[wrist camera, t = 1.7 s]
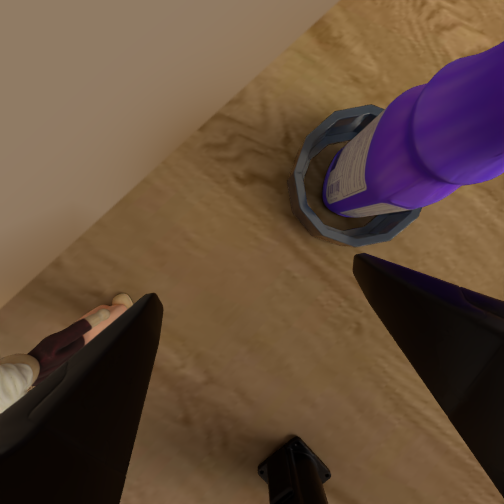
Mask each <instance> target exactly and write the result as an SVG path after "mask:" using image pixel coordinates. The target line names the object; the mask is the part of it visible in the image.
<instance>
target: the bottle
mask: <svg viewBox="0 0 504 504" xmlns="http://www.w3.org/2000/svg"><path fill="white" fill-rule="evenodd" d="M503 172H504V41H503V42H502V43H500V44H499V45H497V46H495V47H493V48H491V49H489V50H487V51H485V52H482V53H479V54H477V55H472V56H468V57H464V58H459V59H457V60H455V61H453V62H451V63H449V64H447V65H446V66H445V67H443V68H442V69H441V70H440V71H439V72H438V73H437V74H436V75H434V77H433V78H432V79H431V80H430V81H429V82H428V83H427V84H423V85H419V86H416V87H413V88H411V89H409V90H407V91H405V92H404V93H402V94H401V95H400V96H398V97H397V98H396V99H395V100H394V101H393V102H392V103H391V104H390V105H389V106H388V107H387V108H386V109H385V110H384V111H382V112H381V113H380V114H379V115H378V116H377V117H376V118H375V119H374V120H373V121H372V122H371V123H369V124H368V125H367V126H366V127H365V128H364V129H363V130H362V131H361V132H360V133H359V134H358V135H356V136H355V137H354V138H353V139H352V140H351V141H350V142H349V143H348V144H347V145H346V146H344V147H343V148H342V149H341V150H340V151H339V152H338V153H337V154H336V155H335V157H334V159H333V160H332V162H331V164H330V166H329V168H328V170H327V173H326V176H325V179H324V184H323V190H322V198H323V203H324V204H325V206H326V207H327V208H328V209H329V210H331V211H332V212H334V213H336V214H338V215H341V216H344V217H355V218H359V217H365V216H372V215H379V214H386V213H392V212H399V211H406V210H413V209H417V208H420V207H424V206H427V205H430V204H432V203H435V202H438V201H440V200H442V199H443V198H445V197H446V196H448V195H449V194H451V193H452V192H454V191H455V190H456V189H458V188H459V187H460V186H462V185H470V184H476V183H480V182H484V181H488V180H491V179H493V178H495V177H497V176H499V175H501V174H502V173H503Z"/></svg>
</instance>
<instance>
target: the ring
mask: <svg viewBox="0 0 504 504" xmlns="http://www.w3.org/2000/svg"><path fill="white" fill-rule="evenodd" d="M384 110H385V109H382V108H380V107H377V106H375V105H372V104H370V105H365V106H360V107H355V108H350V109H345V110H339V111H335V112H333V113H332V114H331V115H330V116H329V117H328V118H327V119H325V120H324V121H323V122H322V123H321V124H320V125H319V126H317V127H316V128H315V129H314V130H313V131H312V132H311V133H310V134H308V135H307V136H306V138H305V140H304V141H303V143H302V145H301V147H300V148H299V150H298V152H297V155H296V157H295V160H294V163H293V166H292V169H291V172H290V175H289V177H288V180H287V184H288V190H289V196H290V202H291V207H292V212H293V214H294V215H295V216H296V217H297V219H298V220H299V221H300V222H301V223H302V225H303V226H304V227H305V228H306V229H307V231H308V232H309V233H310V234H311V235H312V236H314V237H317V238H320V239H322V240H325V241H328V242H331V243H334V244H337V245H339V246H349V247H360V246H365V245H370V244H375V243H381V242H386V241H390V240H391V239H393V238H394V237H395V236H396V235H397V234H399V233H400V232H401V231H402V230H403V229H405V228H406V227H407V226H408V225H409V224H411V223H412V222H413V221H414V220H415V219H417V218H418V217H419V214H420V212H421V209H422V207H420V208H417V209H413V210H406V211H399V212H392V213H386V214H379V215H377V216H376V217H375V218H373V219H372V220H371V221H370V222H369V223H367V224H366V225H365V226H364V227H359V228H354V229H349V230H344V231H341V230H339V229H336V228H333V227H330V226H327V225H324V224H323V222H322V221H321V220H320V219H319V218H318V216H317V215H316V214H315V213H314V212H313V210H312V209H311V208H310V207H309V206H308V204H307V198H306V192H305V186H304V177H305V174H306V171H307V169H308V166H309V163H310V160H311V159H312V158H314V157H315V156H316V155H317V154H318V153H319V152H320V151H322V150H323V149H324V148H325V147H326V146H327V145H330V144H335V143H340V142H345V141H350V140H352V139H353V138H354V137H355V136H356V135H358V134H359V133H360V132H361V131H362V130H363V129H364V128H365V127H366V126H367V125H368V124H369V123H371V122H372V121H373V120H374V119H375V118H376V117H377V116H378V115H379V114H380V113H381V112H382V111H384Z"/></svg>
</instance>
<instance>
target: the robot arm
mask: <svg viewBox="0 0 504 504" xmlns="http://www.w3.org/2000/svg"><path fill="white" fill-rule="evenodd" d="M353 274H354V276H355V278H356V280H357V282H358V284H359V286H360V287H361V289H362V291H363V293H364V295H365V297H366V299H367V300H368V302H369V304H370V305H371V307H372V308H373V310H374V311H375V313H376V314H377V315H378V317H379V318H380V320H381V321H382V323H383V324H384V326H385V327H386V328H387V330H388V331H389V333H390V334H391V336H392V337H393V339H394V340H395V341H396V343H397V344H398V346H399V347H400V349H401V350H402V352H403V353H404V354H405V356H406V357H407V359H408V360H409V362H410V363H411V365H412V366H413V367H414V369H415V370H416V372H417V373H418V375H419V376H420V378H421V379H422V380H423V382H424V383H425V385H426V386H427V388H428V389H429V391H430V392H431V393H432V395H433V396H434V398H435V399H436V401H437V402H438V404H439V405H440V406H441V408H442V409H443V411H444V412H445V414H446V415H447V416H448V418H449V420H450V421H451V423H452V424H453V426H454V427H455V428H456V430H457V431H458V433H459V434H460V436H461V437H462V439H463V440H464V441H465V443H466V444H467V446H468V447H469V449H470V450H471V452H472V453H473V454H474V456H475V457H476V459H477V460H478V462H479V463H480V465H481V466H482V467H483V469H484V470H485V472H486V473H487V475H488V476H489V478H490V479H491V480H492V482H493V483H494V485H495V486H496V488H497V489H498V491H499V492H500V493H501V495H502V496H503V498H504V301H502V300H498V299H495V298H492V297H489V296H486V295H483V294H480V293H477V292H474V291H471V290H469V289H466V288H463V287H459V286H457V285H454V284H452V283H449V282H446V281H443V280H440V279H437V278H434V277H432V276H429V275H426V274H423V273H420V272H417V271H415V270H412V269H409V268H406V267H403V266H400V265H397V264H395V263H392V262H389V261H386V260H383V259H380V258H378V257H375V256H372V255H369V254H366V253H361V254H356V255H355V256H354V261H353ZM162 318H163V305H162V303H161V301H160V300H159V298H158V296H157V294H156V293H149V294H145V295H144V296H143V297H141V298H140V299H139V300H138V301H137V302H136V303H134V304H133V305H132V306H131V307H130V308H128V309H127V310H126V311H125V312H124V313H123V314H121V315H120V316H119V317H118V318H117V319H115V320H114V321H113V322H112V323H111V324H110V325H108V326H107V327H106V328H105V329H104V330H102V331H101V332H100V333H99V334H98V335H96V336H95V337H94V338H93V339H92V340H91V341H89V342H88V343H87V344H86V345H85V346H83V347H82V348H81V349H80V350H79V351H78V352H76V353H75V354H74V355H73V356H72V357H70V358H69V360H68V361H66V362H64V363H63V364H62V365H61V366H60V367H59V368H57V369H56V370H55V371H54V372H53V373H51V374H50V375H49V376H48V377H46V378H45V379H44V380H43V381H42V382H40V383H39V384H38V385H37V386H35V387H34V388H33V389H32V390H30V391H29V392H28V393H26V394H25V395H24V396H23V397H21V398H20V399H19V400H18V401H16V402H15V403H14V404H12V405H11V406H10V407H8V408H7V409H6V410H5V411H3V412H2V413H1V414H0V504H119V503H120V499H121V495H122V491H123V487H124V483H125V479H126V474H127V470H128V466H129V462H130V458H131V454H132V450H133V446H134V442H135V438H136V434H137V430H138V426H139V422H140V418H141V414H142V410H143V406H144V402H145V398H146V394H147V389H148V385H149V381H150V377H151V373H152V369H153V365H154V361H155V357H156V353H157V349H158V345H159V340H160V333H161V325H162ZM258 474H259V476H260V477H261V478H262V479H263V480H264V481H265V482H266V483H267V484H268V489H269V502H270V504H328V501H327V498H326V494H325V491H324V488H323V483H325V482H326V481H327V480H328V479H330V477H331V473H330V470H329V469H328V468H327V467H326V466H325V465H324V463H323V462H322V461H321V460H320V459H319V458H318V457H317V456H316V455H315V454H314V453H313V452H312V450H311V449H310V448H309V447H308V446H307V445H306V444H305V443H304V442H303V441H302V440H301V438H299V437H294V438H293V439H291V440H290V441H289V442H288V443H287V444H285V445H284V446H283V447H282V448H280V449H279V450H278V451H277V452H275V453H274V454H273V455H272V456H270V457H269V458H268V459H267V460H265V461H264V462H263V463H262V464H260V465H259V466H258Z"/></svg>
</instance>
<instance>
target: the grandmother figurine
mask: <svg viewBox="0 0 504 504" xmlns="http://www.w3.org/2000/svg"><path fill="white" fill-rule="evenodd" d="M132 305H133V303H132V301H131V299H130V297H129V296H128V295H127V294H124V293H121V294H118V295H117V296H115V297H114V299H113V301H112V306H107V305H100V306H98V307H96V308H94V309H93V310H91V311H90V312H88V313H87V314H85V315H84V316H82V317H81V318H80V319H79V320H77V321H76V322H75V323H73V324H72V325H70V326H69V327H68V328H66V329H64V330H62V331H60V332H57V333H54V334H52V335H50V336H48V337H46V338H44V339H43V340H42V341H41V342H40V343H39V344H38V345H37V346H36V347H35V348H34V349H32V350H31V351H30V352H29V353H28V354H14V355H10V356H6V357H4V358H1V359H0V414H1V413H2V412H3V411H5V410H6V409H7V408H8V407H10V406H11V405H12V404H14V403H15V402H16V401H18V400H19V399H20V398H21V397H23V396H24V395H25V394H26V393H28V392H27V389H28V388H29V387H30V386H37V385H38V384H39V383H40V382H42V381H43V380H44V379H45V378H46V377H48V376H49V375H50V374H51V373H53V372H54V371H55V370H56V369H57V368H59V367H60V366H61V365H62V364H63V363H64V362H66V361H68V360H69V358H70V357H72V356H73V355H74V354H75V353H76V352H78V351H79V350H80V349H81V348H82V347H83V346H85V345H86V344H87V343H88V342H89V341H91V340H92V339H93V338H94V337H95V336H96V335H98V334H99V333H100V332H101V331H102V330H104V329H105V328H106V327H107V326H108V325H110V324H111V323H112V322H113V321H114V320H115V319H117V318H118V317H119V316H120V315H121V314H123V313H124V312H125V311H126V310H127V309H128V308H130V307H131V306H132Z"/></svg>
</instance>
